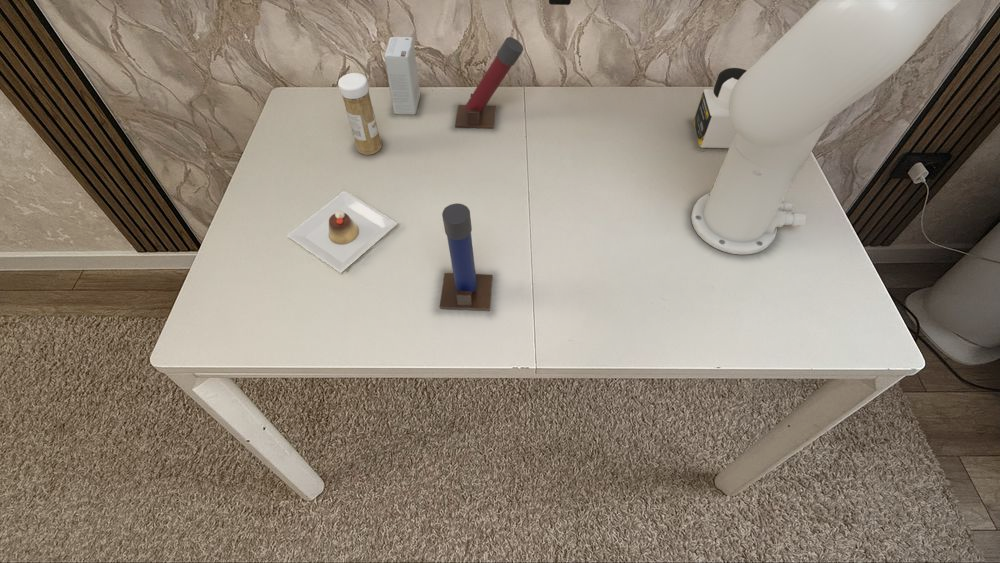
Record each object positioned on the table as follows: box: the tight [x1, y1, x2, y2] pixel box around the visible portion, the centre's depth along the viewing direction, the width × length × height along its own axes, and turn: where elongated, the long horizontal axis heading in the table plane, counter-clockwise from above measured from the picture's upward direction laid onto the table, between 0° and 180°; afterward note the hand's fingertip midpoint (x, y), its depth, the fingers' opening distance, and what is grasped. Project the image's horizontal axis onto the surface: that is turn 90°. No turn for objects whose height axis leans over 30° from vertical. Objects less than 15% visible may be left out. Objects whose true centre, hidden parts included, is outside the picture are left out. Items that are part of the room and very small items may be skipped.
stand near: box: [439, 272, 494, 312], centre depth 78 cm, size 7×6×3 cm
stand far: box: [454, 93, 497, 130], centre depth 101 cm, size 7×6×3 cm
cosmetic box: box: [384, 36, 421, 115], centre depth 100 cm, size 6×4×12 cm
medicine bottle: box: [692, 67, 748, 149], centre depth 94 cm, size 7×7×12 cm
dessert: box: [286, 190, 398, 274], centre depth 84 cm, size 12×12×5 cm
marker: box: [441, 202, 477, 293], centre depth 72 cm, size 3×3×15 cm
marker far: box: [465, 36, 524, 114], centre depth 96 cm, size 3×3×15 cm
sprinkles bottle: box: [337, 72, 383, 156], centre depth 92 cm, size 5×5×14 cm
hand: (559, 1), depth 83 cm, fingers closed
